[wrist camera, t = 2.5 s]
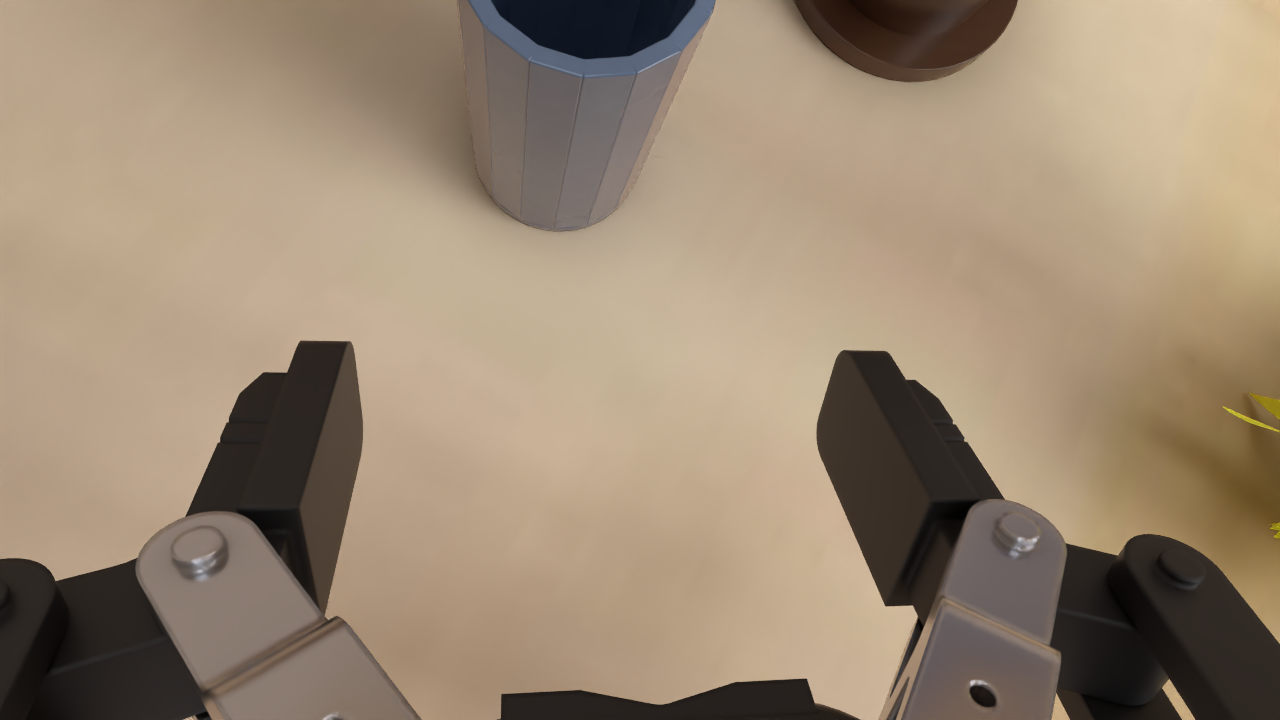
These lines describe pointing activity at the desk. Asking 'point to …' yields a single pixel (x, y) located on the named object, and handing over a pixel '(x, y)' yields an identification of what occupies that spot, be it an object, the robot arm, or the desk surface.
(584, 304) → the desk surface
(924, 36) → the stand
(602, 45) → the cup
